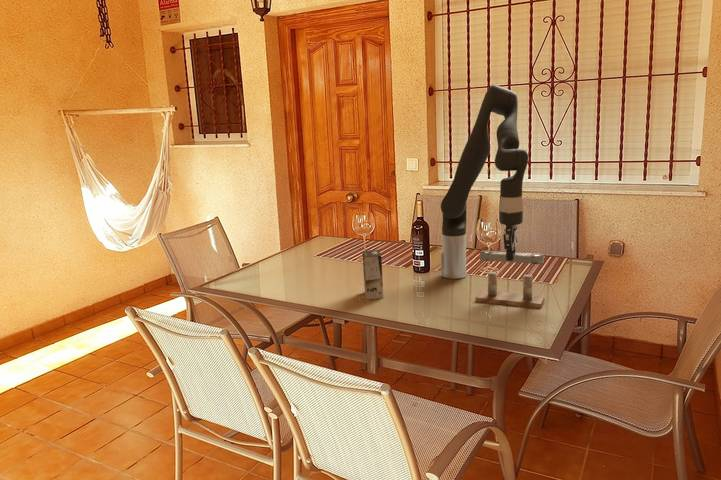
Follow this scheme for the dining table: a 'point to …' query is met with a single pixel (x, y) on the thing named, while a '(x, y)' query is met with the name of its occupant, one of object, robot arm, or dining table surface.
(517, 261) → the grey knobbed bar
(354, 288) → the dining table surface
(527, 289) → the peg stand
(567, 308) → the dining table surface
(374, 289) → the coffee box
